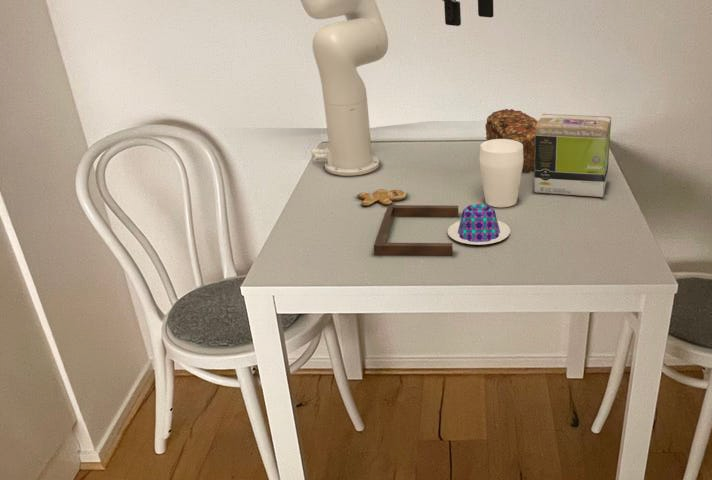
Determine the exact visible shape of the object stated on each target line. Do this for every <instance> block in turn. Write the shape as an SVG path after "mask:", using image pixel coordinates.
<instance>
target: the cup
mask: <svg viewBox="0 0 712 480" xmlns="http://www.w3.org/2000/svg"><path fill="white" fill-rule="evenodd" d="M478 161H479V168H480V174H481V182H482V183H481V184H482V188H483V194H484V202H485V204H486V205H489V206H490V207H492V208H493V207H494V208H500V209H501V208H509V207H513V206H514V205H516V204H517V202H518V196H519V191H520V185H521V181H522V180H521V179H522V173H523V171H522V168H523V162H524V157H523V144H522V143H520V142H518V141H515V140H510V139H493V140H488V141H487V140H485V141H483V142H481V143H480V144H479V157H478Z"/></svg>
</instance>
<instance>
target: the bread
mask: <svg viewBox="0 0 712 480" xmlns="http://www.w3.org/2000/svg"><path fill="white" fill-rule="evenodd" d="M538 121H539V120H537V119H536V118H535V117H532V116H531V115H529V114H527V113H525V112H523V111H521V110H515V109H513V108H510V109H508V108H505V109H501V110H500V109H499V110H496V111H493V112H492V113H491V114H490V115H488V116H487V117H486V123H485V139H486V141H488V140H493V139H510V140H515V141H518V142H520V143H522V144H523V157H524V162H523V168H522V172H525V173H528V172H531V171H532V170H534V162H535V127H536V125H537V123H538Z"/></svg>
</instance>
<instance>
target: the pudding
mask: <svg viewBox="0 0 712 480" xmlns="http://www.w3.org/2000/svg"><path fill="white" fill-rule="evenodd" d="M447 234H448V236H449V237H450V238H451V239H453V240H454V241H456V242H459V243H461V244H467V245H489V244H494V243H498V242H501V241H503V240H505V239H506V238H508V237H509V236H510V234H511V228H510V227H509V225H508V224H507V223H505V222H503V221H501V220H498V218H497V214H496V210H495V209H494V208H493V206H490V205H488V204H487V203H484V204H482V203H475V204H469V205H467V206H466V207H464V209H463V210H462V212H461V217H460V220H458V221H456V222H454V223H452V224H451V225H450V226H448V228H447Z"/></svg>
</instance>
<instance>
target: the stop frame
mask: <svg viewBox="0 0 712 480" xmlns="http://www.w3.org/2000/svg"><path fill="white" fill-rule="evenodd" d="M459 215H460V213H459V205H443V204H441V205H440V204H439V205H436V204H434V205H433V204H432V205H431V204H429V205H427V204H425V205H424V204H422V205H421V204H390V205H387V207H386V210H385V213H384V216H383V219H382V221H381V224H380V227H379V230H378V233H377V235H376V238H375V241H374V244H373V250H374V251H373V252H374V256H418V257H419V256H420V257H421V256H424V257H425V256H426V257H427V256H430V257H431V256H433V257H434V256H435V257H437V256H438V257H452V256H453V254H454V250H453V248H454V247H453V243H452V242H386V241H387V239H388V235H389V233H390V230H391V226H392V224H393V220H394V218H395V217H410V218H411V217H413V218H415V217H416V218H417V217H419V218H420V217H422V218H425V217H426V218H458V217H459Z"/></svg>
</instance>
